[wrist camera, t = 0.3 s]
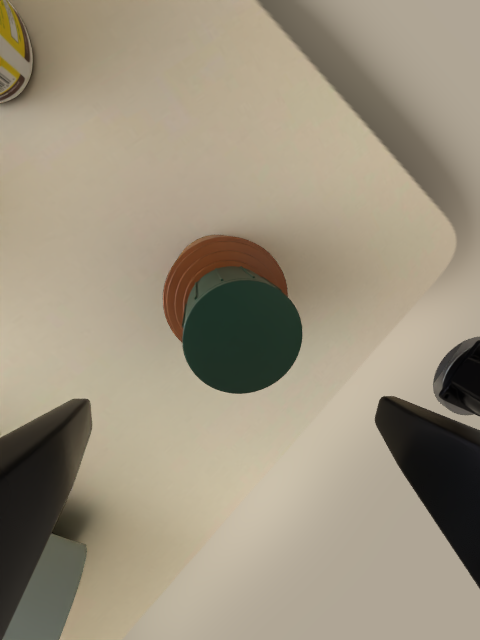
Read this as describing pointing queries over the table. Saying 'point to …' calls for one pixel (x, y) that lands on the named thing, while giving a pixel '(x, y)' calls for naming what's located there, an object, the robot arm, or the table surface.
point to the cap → (239, 331)
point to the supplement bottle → (13, 53)
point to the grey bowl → (49, 592)
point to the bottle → (205, 259)
